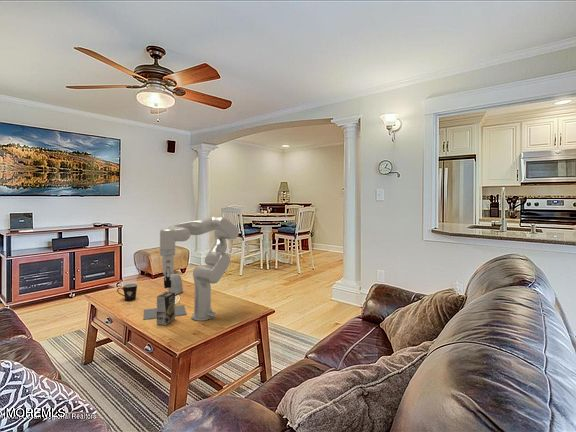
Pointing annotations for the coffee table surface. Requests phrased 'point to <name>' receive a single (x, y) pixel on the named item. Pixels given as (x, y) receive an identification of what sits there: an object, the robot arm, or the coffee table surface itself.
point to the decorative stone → (176, 284)
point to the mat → (153, 312)
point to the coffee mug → (129, 291)
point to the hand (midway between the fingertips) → (167, 285)
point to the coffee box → (165, 308)
